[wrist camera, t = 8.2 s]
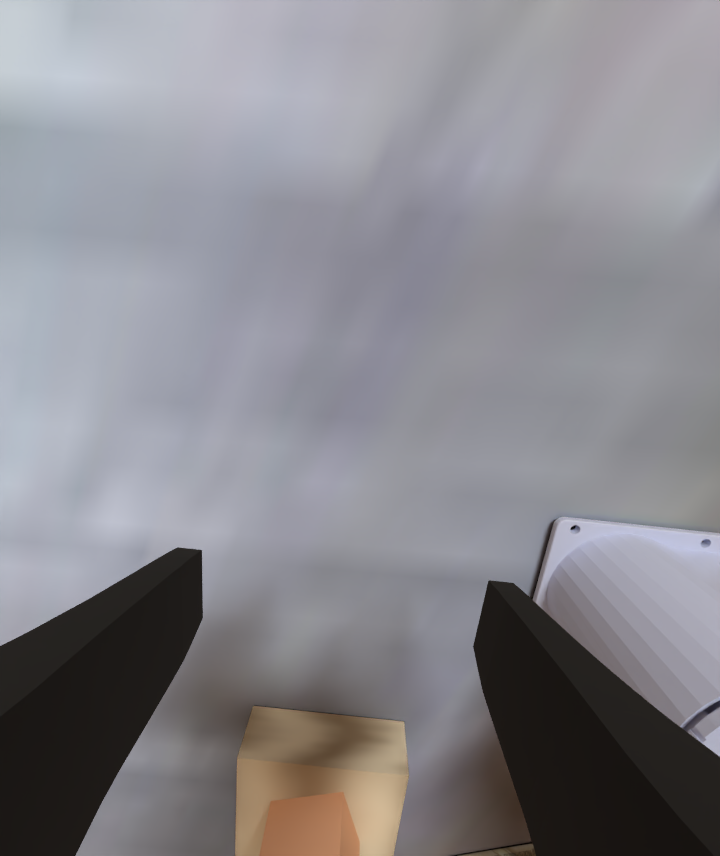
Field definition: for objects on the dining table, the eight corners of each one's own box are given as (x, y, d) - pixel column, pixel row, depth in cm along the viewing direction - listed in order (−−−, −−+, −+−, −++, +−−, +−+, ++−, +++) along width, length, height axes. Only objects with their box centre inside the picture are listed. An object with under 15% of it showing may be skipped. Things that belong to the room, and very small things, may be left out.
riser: (404, 721, 24) (408, 775, 21) (385, 823, 26) (387, 884, 24) (253, 705, 24) (237, 757, 21) (249, 809, 26) (235, 868, 23)
